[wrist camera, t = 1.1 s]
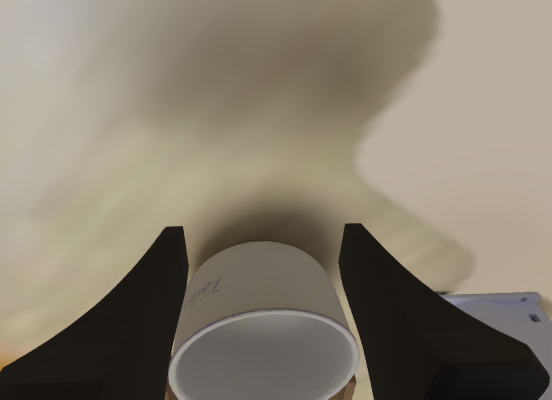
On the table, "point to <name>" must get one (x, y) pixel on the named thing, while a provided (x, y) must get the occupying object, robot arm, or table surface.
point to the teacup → (261, 329)
